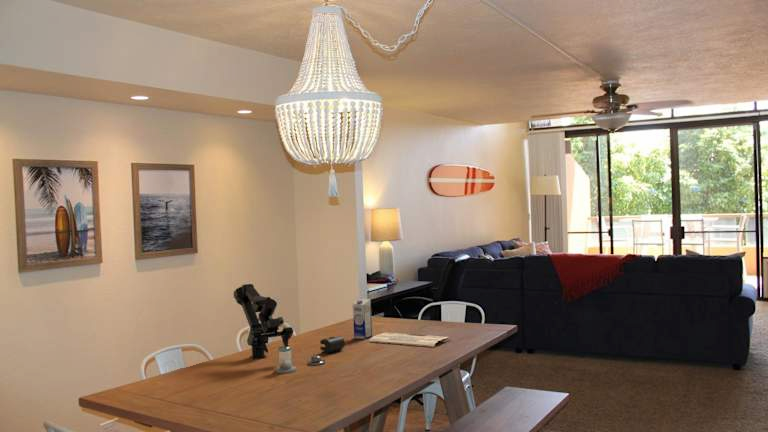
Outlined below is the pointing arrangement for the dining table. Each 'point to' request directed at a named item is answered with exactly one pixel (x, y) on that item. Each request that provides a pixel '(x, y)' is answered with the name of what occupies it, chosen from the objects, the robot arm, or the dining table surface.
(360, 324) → the milk carton
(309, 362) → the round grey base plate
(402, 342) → the newspaper
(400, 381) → the dining table surface
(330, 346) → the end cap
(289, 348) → the drinking glass
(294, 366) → the coaster
